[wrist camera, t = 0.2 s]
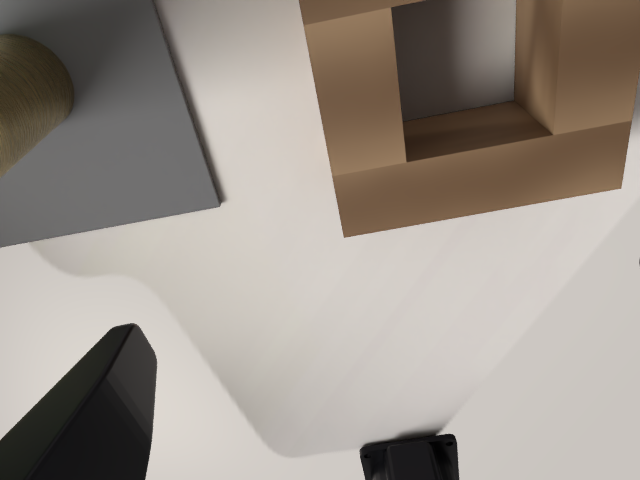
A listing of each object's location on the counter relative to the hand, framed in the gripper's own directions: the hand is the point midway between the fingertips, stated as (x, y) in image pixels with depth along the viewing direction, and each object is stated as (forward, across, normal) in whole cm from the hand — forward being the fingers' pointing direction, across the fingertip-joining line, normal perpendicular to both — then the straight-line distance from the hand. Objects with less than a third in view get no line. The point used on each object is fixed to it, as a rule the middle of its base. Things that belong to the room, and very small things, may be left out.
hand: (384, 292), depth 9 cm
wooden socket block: (+14, -5, +1) cm, 15 cm away
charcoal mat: (+14, +12, -1) cm, 19 cm away
